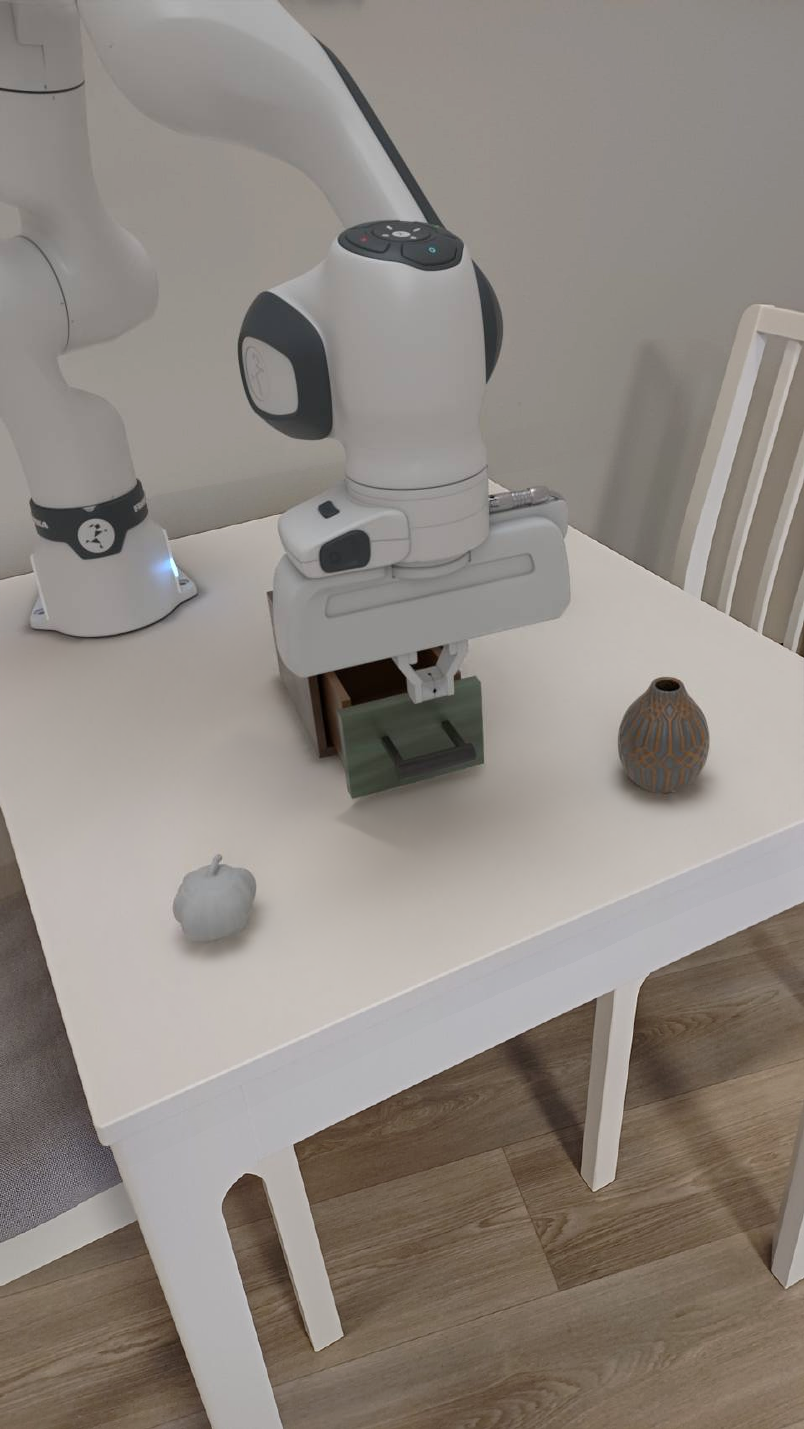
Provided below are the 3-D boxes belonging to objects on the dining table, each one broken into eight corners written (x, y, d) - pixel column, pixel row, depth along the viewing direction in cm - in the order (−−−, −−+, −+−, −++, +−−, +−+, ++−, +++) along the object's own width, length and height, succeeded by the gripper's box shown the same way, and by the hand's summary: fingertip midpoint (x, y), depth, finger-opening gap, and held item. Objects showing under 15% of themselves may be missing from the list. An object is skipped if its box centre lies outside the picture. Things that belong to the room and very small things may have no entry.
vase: (641, 744, 83) (647, 653, 79) (720, 771, 79) (731, 676, 75) (600, 785, 79) (603, 691, 74) (680, 816, 75) (689, 718, 70)
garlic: (228, 885, 72) (215, 829, 70) (278, 916, 69) (267, 859, 66) (162, 933, 69) (146, 876, 66) (211, 968, 66) (197, 910, 63)
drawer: (511, 799, 77) (509, 714, 73) (371, 838, 74) (361, 753, 70) (427, 687, 92) (421, 612, 88) (309, 716, 89) (297, 640, 85)
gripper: (546, 466, 68) (544, 644, 75) (252, 522, 63) (282, 707, 70) (590, 495, 62) (584, 683, 70) (274, 559, 58) (304, 754, 65)
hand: (431, 695), depth 70 cm, fingers closed
